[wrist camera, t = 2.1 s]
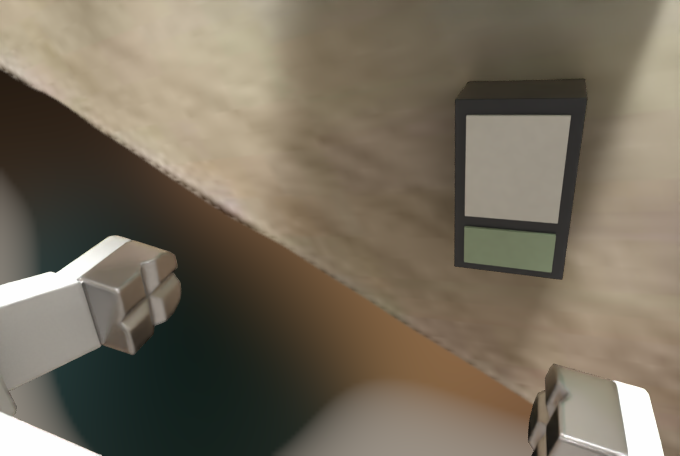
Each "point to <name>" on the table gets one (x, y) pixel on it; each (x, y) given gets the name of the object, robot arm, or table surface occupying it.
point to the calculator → (516, 173)
